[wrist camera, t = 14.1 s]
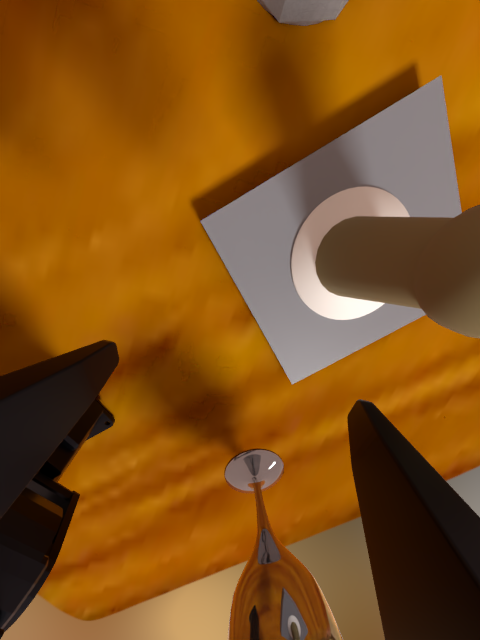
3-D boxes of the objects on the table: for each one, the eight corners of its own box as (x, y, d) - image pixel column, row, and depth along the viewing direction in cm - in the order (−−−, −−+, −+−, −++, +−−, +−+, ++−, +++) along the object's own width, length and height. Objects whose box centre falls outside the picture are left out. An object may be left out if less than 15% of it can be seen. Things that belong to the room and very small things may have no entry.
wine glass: (271, 498, 28) (330, 763, 13) (212, 490, 26) (207, 781, 12) (297, 453, 25) (399, 711, 11) (234, 440, 24) (260, 723, 10)
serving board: (287, 375, 22) (292, 385, 20) (201, 223, 17) (200, 220, 15) (455, 286, 20) (475, 290, 19) (420, 90, 15) (444, 72, 14)
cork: (306, 236, 16) (471, 215, 6) (382, 202, 16) (702, 117, 5) (326, 308, 18) (475, 391, 8) (394, 279, 18) (643, 324, 7)
